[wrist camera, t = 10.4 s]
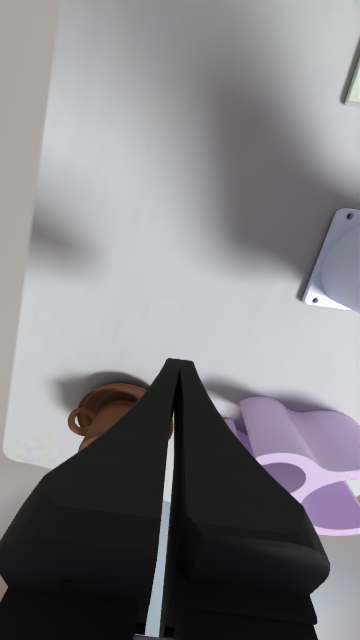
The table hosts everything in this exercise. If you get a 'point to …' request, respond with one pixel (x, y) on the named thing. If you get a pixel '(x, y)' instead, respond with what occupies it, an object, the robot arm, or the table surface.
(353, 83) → the mat
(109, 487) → the robot arm
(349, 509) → the clip
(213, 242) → the table surface
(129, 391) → the cup and saucer
